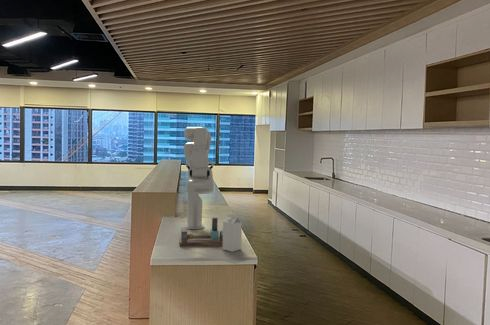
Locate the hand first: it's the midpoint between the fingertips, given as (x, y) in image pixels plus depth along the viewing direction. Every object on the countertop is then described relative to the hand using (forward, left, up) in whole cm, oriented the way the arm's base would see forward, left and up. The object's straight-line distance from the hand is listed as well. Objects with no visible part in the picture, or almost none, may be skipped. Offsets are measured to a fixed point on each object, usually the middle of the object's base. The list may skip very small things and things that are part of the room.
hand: (199, 177), depth 261 cm
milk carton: (+30, +16, -36) cm, 50 cm away
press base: (+16, +1, -36) cm, 39 cm away
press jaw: (+16, +8, -34) cm, 38 cm away
